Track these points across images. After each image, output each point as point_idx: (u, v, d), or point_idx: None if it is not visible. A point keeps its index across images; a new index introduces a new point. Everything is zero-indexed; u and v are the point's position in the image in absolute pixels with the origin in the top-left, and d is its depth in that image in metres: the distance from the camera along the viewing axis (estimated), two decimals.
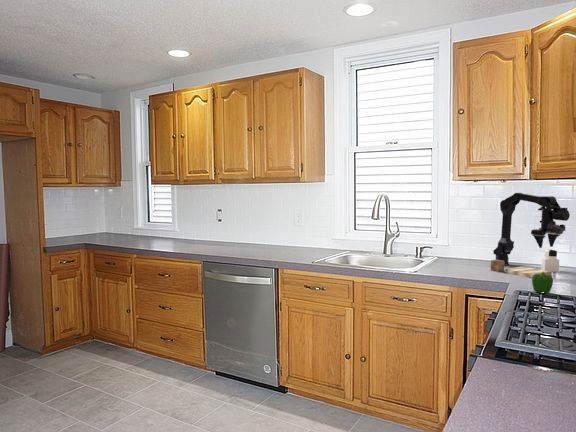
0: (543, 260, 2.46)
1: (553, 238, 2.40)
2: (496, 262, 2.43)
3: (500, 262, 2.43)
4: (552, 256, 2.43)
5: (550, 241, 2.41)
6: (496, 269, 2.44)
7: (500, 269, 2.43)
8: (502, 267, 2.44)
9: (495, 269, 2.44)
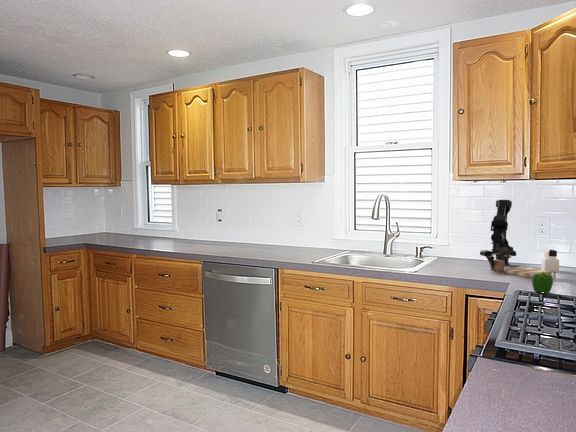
0: (543, 260, 2.46)
1: (504, 260, 2.45)
2: (496, 262, 2.43)
3: (500, 262, 2.43)
4: (552, 256, 2.43)
5: None
6: (496, 269, 2.44)
7: (500, 269, 2.43)
8: (502, 267, 2.44)
9: (495, 269, 2.44)
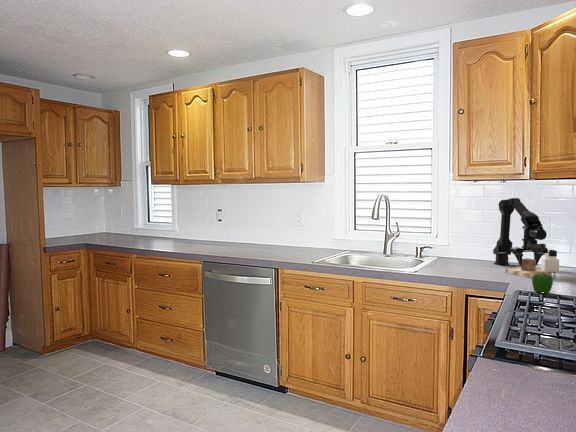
0: (543, 260, 2.46)
1: (537, 257, 2.37)
2: (527, 261, 2.35)
3: (531, 261, 2.35)
4: (552, 256, 2.43)
5: None
6: (527, 268, 2.35)
7: (531, 268, 2.35)
8: (533, 266, 2.36)
9: (526, 268, 2.36)
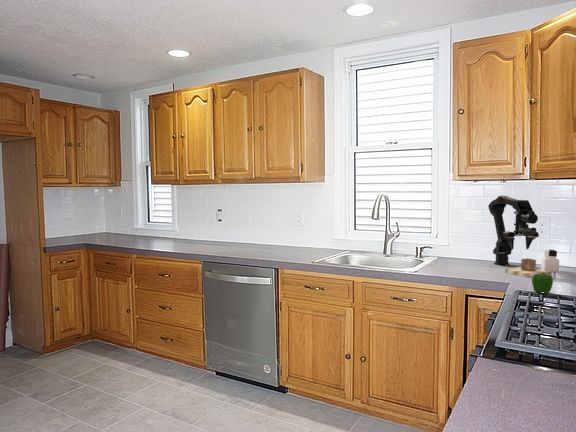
0: (543, 260, 2.46)
1: (529, 241, 2.46)
2: (527, 261, 2.35)
3: (531, 261, 2.35)
4: (552, 256, 2.43)
5: (526, 244, 2.48)
6: (527, 268, 2.35)
7: (531, 268, 2.35)
8: (533, 266, 2.36)
9: (526, 268, 2.36)
